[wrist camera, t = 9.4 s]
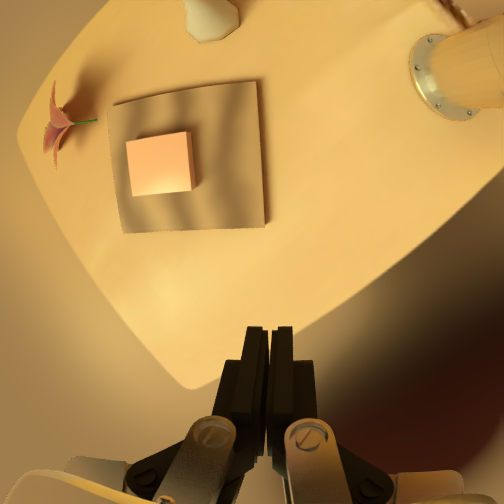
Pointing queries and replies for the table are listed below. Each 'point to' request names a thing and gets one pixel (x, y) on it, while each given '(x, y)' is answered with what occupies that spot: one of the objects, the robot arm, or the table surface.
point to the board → (205, 159)
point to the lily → (56, 127)
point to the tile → (161, 164)
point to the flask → (210, 19)
